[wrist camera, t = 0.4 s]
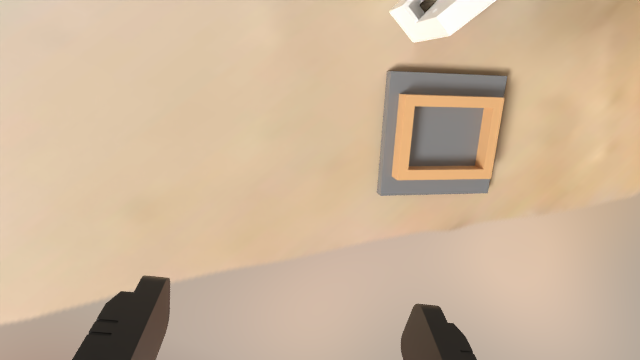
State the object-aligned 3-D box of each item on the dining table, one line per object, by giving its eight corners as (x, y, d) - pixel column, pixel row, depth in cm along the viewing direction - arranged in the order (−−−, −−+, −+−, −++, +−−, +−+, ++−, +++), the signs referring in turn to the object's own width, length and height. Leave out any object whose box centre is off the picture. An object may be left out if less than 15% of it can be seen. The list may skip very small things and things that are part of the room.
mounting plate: (387, 71, 35) (397, 71, 33) (500, 76, 37) (517, 76, 35) (377, 192, 38) (385, 200, 36) (482, 190, 41) (496, 197, 38)
